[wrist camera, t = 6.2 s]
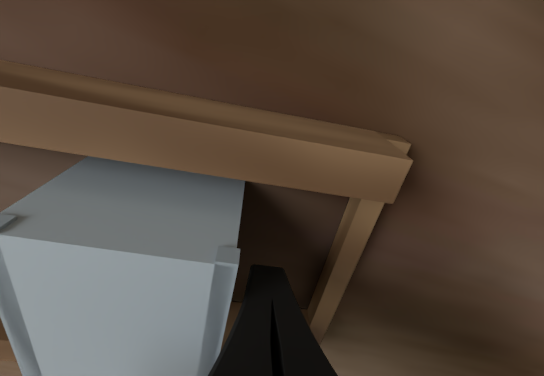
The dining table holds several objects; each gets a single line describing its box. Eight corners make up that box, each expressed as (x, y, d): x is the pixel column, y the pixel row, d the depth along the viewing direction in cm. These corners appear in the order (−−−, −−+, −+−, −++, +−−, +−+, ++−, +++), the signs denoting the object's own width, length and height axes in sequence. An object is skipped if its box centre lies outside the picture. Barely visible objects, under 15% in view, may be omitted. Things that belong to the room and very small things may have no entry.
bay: (317, 327, 16) (328, 383, 13) (-263, 272, 13) (-400, 332, 10) (398, 135, 11) (444, 166, 8) (-585, -52, 7) (-1073, -107, 5)
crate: (227, 282, 14) (211, 391, 10) (102, 266, 13) (22, 376, 9) (248, 178, 11) (238, 264, 7) (90, 149, 10) (-35, 226, 6)
